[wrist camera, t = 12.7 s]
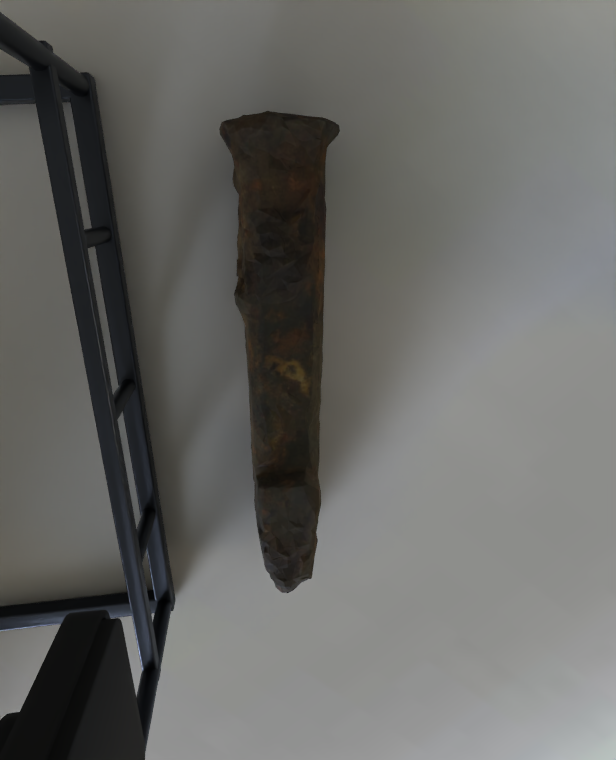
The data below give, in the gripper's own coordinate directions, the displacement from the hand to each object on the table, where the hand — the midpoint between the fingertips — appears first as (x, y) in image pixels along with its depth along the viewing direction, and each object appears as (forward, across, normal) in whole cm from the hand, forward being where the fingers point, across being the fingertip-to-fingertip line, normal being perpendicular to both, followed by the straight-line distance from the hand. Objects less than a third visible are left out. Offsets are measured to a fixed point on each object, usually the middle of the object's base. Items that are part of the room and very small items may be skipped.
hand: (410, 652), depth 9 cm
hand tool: (+16, +1, 0) cm, 16 cm away
